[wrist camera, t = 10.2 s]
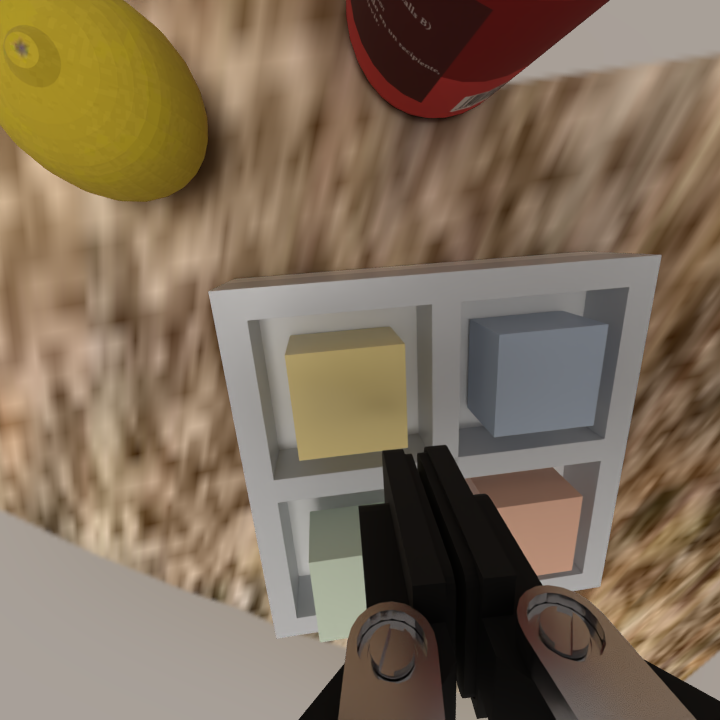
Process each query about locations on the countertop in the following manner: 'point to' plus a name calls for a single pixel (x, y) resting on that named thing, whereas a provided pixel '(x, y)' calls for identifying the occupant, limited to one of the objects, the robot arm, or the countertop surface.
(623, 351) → the keypad
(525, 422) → the key slate
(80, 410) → the countertop surface
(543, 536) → the key terracotta
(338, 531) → the key sage
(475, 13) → the canned food
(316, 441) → the key mustard
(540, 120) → the countertop surface
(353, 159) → the countertop surface
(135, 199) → the lemon
